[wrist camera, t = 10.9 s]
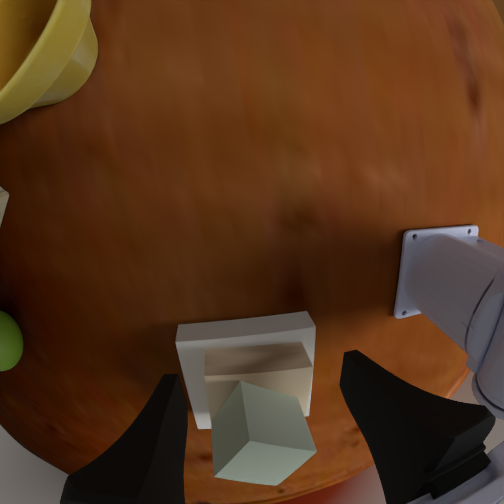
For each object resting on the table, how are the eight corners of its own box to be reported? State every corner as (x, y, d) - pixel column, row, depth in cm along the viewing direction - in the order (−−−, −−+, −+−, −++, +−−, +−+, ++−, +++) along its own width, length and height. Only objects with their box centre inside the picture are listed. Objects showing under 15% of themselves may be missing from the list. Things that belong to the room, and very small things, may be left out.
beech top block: (301, 341, 21) (313, 366, 19) (294, 405, 24) (302, 430, 21) (204, 348, 21) (204, 375, 18) (212, 412, 23) (213, 439, 20)
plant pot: (148, 72, 16) (99, 14, 7) (34, 158, 17) (-58, 172, 8) (98, -18, 13) (49, -83, 4) (-3, 63, 14) (-80, 43, 4)
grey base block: (304, 307, 24) (315, 326, 21) (301, 394, 27) (308, 415, 24) (179, 320, 23) (175, 341, 20) (198, 406, 26) (198, 429, 23)
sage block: (297, 397, 19) (316, 451, 15) (265, 433, 20) (276, 485, 16) (240, 380, 18) (249, 440, 13) (211, 420, 19) (214, 476, 14)
